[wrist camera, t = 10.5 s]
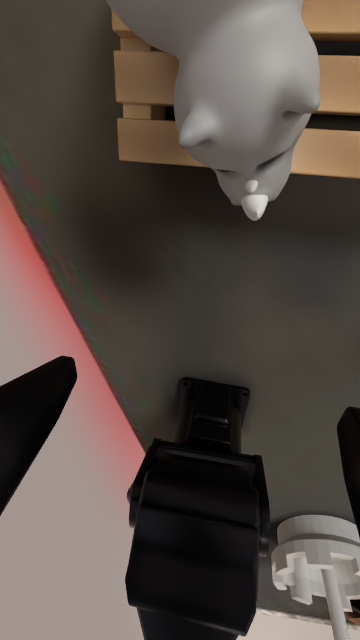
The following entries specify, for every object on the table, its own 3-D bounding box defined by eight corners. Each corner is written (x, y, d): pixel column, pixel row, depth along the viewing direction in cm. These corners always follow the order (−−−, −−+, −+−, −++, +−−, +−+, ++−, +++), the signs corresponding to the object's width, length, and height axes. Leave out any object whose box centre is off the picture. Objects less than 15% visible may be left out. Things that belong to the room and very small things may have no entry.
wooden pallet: (454, 182, 15) (513, 190, 12) (141, 158, 18) (118, 160, 14) (591, -79, 11) (753, -186, 7) (138, -65, 13) (102, -141, 10)
